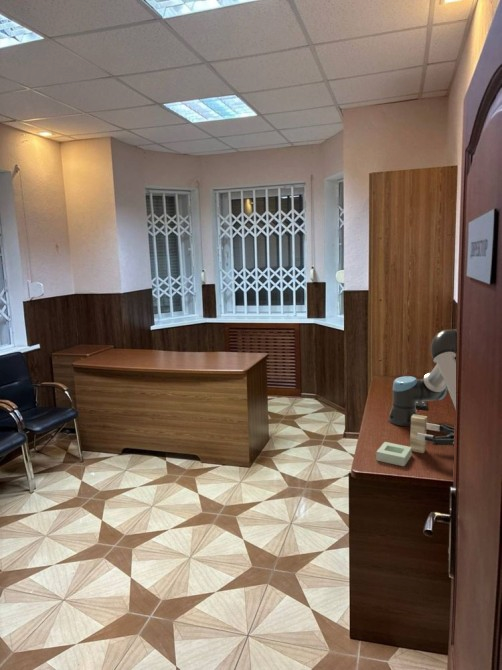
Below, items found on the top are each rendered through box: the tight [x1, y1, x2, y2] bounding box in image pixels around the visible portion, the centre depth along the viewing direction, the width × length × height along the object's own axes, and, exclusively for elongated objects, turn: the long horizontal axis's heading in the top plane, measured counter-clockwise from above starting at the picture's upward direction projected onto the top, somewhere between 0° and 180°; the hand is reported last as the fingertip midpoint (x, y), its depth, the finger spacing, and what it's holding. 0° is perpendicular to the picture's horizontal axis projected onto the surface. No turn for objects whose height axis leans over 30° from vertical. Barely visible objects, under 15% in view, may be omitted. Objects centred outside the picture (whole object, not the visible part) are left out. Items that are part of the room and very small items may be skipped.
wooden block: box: [409, 414, 428, 454], centre depth 211 cm, size 4×6×16 cm, turn 58°
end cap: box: [375, 441, 413, 467], centre depth 205 cm, size 12×12×4 cm
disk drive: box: [416, 401, 428, 411], centre depth 272 cm, size 10×3×15 cm
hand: (420, 430), depth 210 cm, fingers open, 13 cm apart
